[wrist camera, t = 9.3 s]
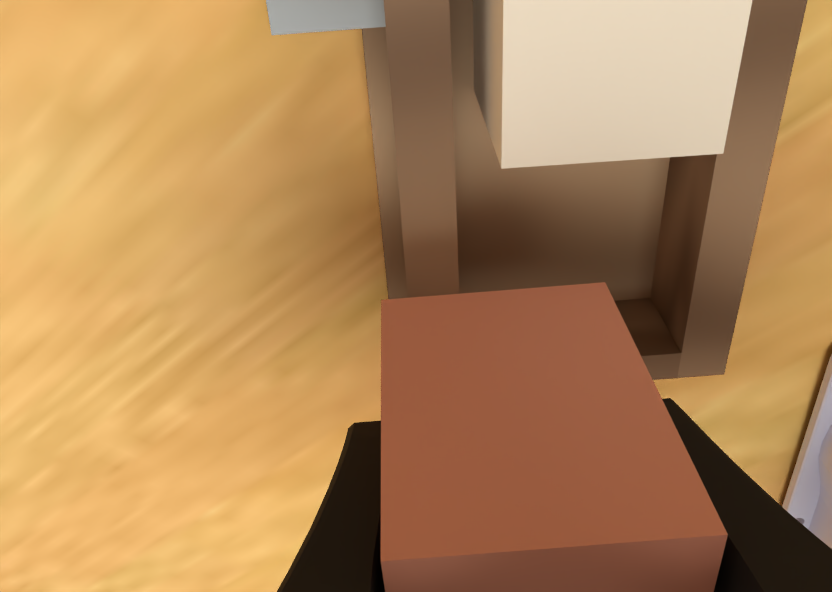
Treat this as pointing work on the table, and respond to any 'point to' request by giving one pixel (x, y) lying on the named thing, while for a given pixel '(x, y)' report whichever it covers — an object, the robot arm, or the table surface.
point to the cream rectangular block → (606, 77)
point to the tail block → (533, 451)
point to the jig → (560, 184)
